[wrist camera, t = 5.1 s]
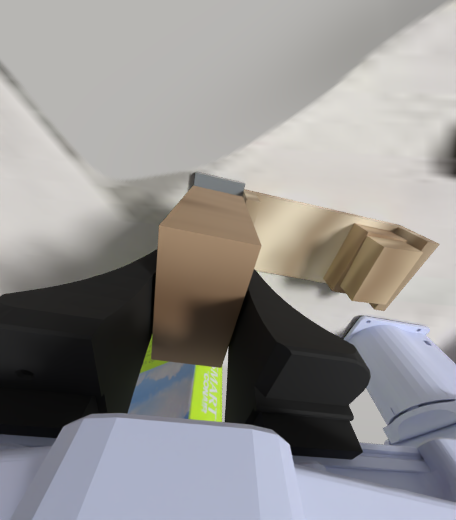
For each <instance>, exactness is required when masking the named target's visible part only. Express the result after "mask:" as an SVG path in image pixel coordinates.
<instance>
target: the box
mask: <svg viewBox="0 0 456 520" xmlns="http://www.w3.org/2000/svg"><path fill="white" fill-rule="evenodd" d="M152 336H153V334H152ZM151 353H152V337H151V340H150V343H149V346H148V349H147V352H146V355H145V358H144V361H143V364H142V368H141V371H140V374H139V377H138V380H137V384H136V387H135V390H134V393H133V397H132V400H131V403H130V407H129V410H128V413H127V414H137V415H149V416H160V417H171V418H182V419H193V420H205V421H216V422H222V367H221V368H218V367H209V366H201V365H193V364H185V363H176V362H168V361H160V360H152V359H151Z"/></svg>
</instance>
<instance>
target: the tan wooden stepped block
mask: <svg viewBox="0 0 456 520" xmlns="http://www.w3.org/2000/svg"><path fill="white" fill-rule="evenodd" d="M242 197H243V198H244V201H245V204H246V206H247V209H248V211H249V214H250V217H251V219H252V222H253V225H254V227H255V230H256V232H257V235H258V238H259V240H260V243H261V245H262V246H261V249H260V252H259V255H258V258H257V261H256V264H255V267H254V269H255V270H257V271H262V272H267V273H273V274H278V275H284V276H289V277H295V278H300V279H305V280H311V281H316V282H322V283H326V282H325V280H324V279H323V278H324V276H325V274H326V273H327V271H328V269H329V267H330V265H331V264H332V262H333V260H334V258H335V257H336V255H337V253H338V251H339V249H340V248H341V246H342V244H343V242H344V241H345V239H346V237H347V235H348V233H349V232H350V230H351V228H352V226H353V225H354V223H356V224H361V225H365V226H369V227H374V228H378V229H383V230H387V231H391V232H393V233H394V234H396V235H398V236H400V237H402V238H404V239H405V240H407V242H406V243H407V244H409V245H411V246H412V247H414V248H416V249H418V250H420V251H421V252H423V254H422V255H421V256H420V258H419V259H418V261H417V262H416V263H415V265H414V266H413V267H412V269H411V270H410V272H409V273H408V274H407V276H406V277H405V279H404V280H403V281H402V283H401V284H400V285H399V287H398V288H397V290H396V291H395V292H394V294H393V295H392V297H391V298H390V299H389V301H388V302H387V303H386V305H384V304H375V303H369V304H370V305H371V306H372V307H373V308H374V309H375V310H381V311H385V309H386V308H387V307H388V306H389V305H390V303H391V302H392V301H393V300H394V299H395V297H396V296H397V295H398V294H399V293H400V291H401V290H402V289H403V288H404V287H405V285H406V284H407V283H408V282H409V281H410V279H411V278H412V277H413V276H414V275H415V273H416V272H417V271H418V270H419V268H420V267H421V266H422V265H423V264H424V262H425V261H426V260H427V259H428V258H429V256H430V255H431V254H432V253H433V252H434V250H435V249H436V248H437V247H438V246H439V244H438V243H436V242H434V241H432V240H430V239H428V238H426V237H424V236H421V235H419V234H417V233H415V232H413V231H411V230H409V229H407V228H405V227H403V226H400V225H397V224H392V223H388V222H384V221H379V220H375V219H371V218H366V217H362V216H358V215H353V214H349V213H345V212H340V211H336V210H332V209H327V208H323V207H319V206H314V205H310V204H306V203H301V202H297V201H293V200H288V199H284V198H280V197H275V196H271V195H267V194H262V193H258V192H254V191H249V190H245V189H244V191H243V195H242Z"/></svg>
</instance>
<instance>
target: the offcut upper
mask: <svg viewBox="0 0 456 520" xmlns="http://www.w3.org/2000/svg"><path fill="white" fill-rule="evenodd" d="M422 254H423V252H421V251H420V250H418V249H416V248H414V247H412V246H411V245H409V244H407V243H405V242H403V241H400V240H393V239H386V238H379V237H372V236H367V237H366V239H365V241H364V243H363V244H362V246H361V248H360V250H359V252H358V254H357V256H356V257H355V259H354V261H353V263H352V265H351V267H350V269H349V270H348V272H347V274H346V276H345V278H344V280H343V282H342V283H341V285H340V286H341V288H342V289H343V290H344V291H345V293H346V294H347V295H348V296H349V298H350V299H351V300H352V301H358V302H366V303H375V304H384V305H386V303H387V302H388V301H389V299H390V298H391V297H392V295H393V294H394V292H395V291H396V290H397V288H398V287H399V285H400V284H401V283H402V281H403V280H404V279H405V277H406V276H407V274H408V273H409V272H410V270H411V269H412V267H413V266H414V265H415V263H416V262H417V261H418V259H419V258H420V256H421V255H422Z"/></svg>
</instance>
